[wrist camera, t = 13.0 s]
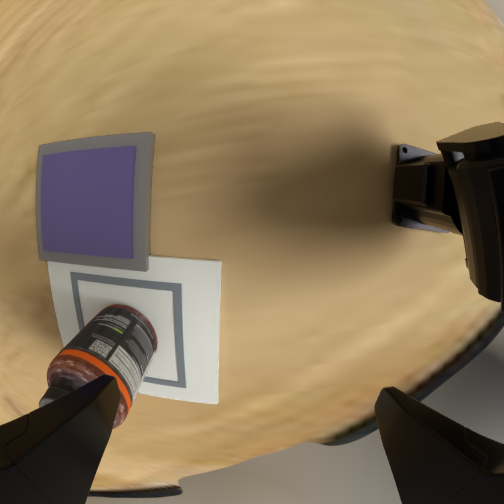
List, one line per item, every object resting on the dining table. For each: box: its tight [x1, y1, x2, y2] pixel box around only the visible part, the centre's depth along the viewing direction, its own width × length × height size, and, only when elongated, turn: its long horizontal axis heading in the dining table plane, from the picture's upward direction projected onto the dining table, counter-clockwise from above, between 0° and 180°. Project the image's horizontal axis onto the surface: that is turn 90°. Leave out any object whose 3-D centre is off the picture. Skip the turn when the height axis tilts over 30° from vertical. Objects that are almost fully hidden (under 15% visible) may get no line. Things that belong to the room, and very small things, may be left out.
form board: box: [47, 255, 222, 404], centre depth 21 cm, size 16×14×1 cm
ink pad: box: [36, 132, 155, 272], centre depth 18 cm, size 11×10×1 cm
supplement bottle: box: [39, 304, 158, 429], centre depth 15 cm, size 6×6×11 cm
